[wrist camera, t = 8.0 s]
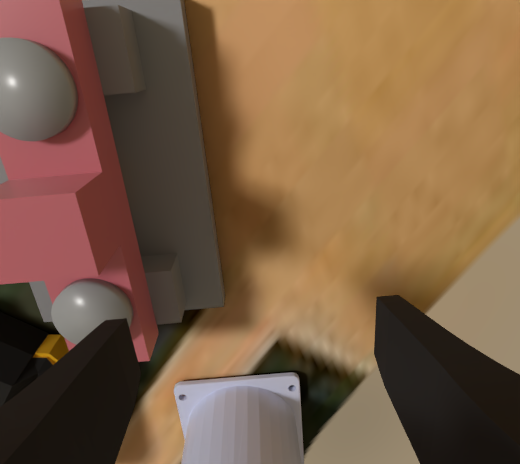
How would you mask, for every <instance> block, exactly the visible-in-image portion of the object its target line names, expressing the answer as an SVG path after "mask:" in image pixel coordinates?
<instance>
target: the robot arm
mask: <svg viewBox="0 0 520 464" xmlns="http://www.w3.org/2000/svg"><path fill="white" fill-rule="evenodd" d="M374 354H375V358H376V361H377V364H378V368H379V371H380V374H381V377H382V379H383V382H384V386H385V388H386V390H387V393H388V395H389V397H390V399H391V401H392V404H393V406H394V408H395V410H396V412H397V414H398V417H399V419H400V421H401V423H402V425H403V427H404V429H405V432H406V434H407V436H408V438H409V440H410V442H411V445H412V447H413V449H414V451H415V453H416V455H417V458H418V460H419V462H420V464H520V375H519V374H517V373H515V372H514V371H512V370H510V369H508V368H506V367H504V366H503V365H501V364H499V363H498V362H496V361H494V360H493V359H491V358H489V357H488V356H486V355H484V354H483V353H481V352H480V351H478V350H476V349H475V348H473V347H471V346H470V345H468V344H467V343H465V342H464V341H462V340H461V339H459V338H458V337H456V336H455V335H453V334H452V333H450V332H449V331H447V330H446V329H445V328H443V327H442V326H440V325H439V324H438V323H436V322H435V321H433V320H432V319H431V318H429V317H428V316H427V315H425V314H424V313H422V312H421V311H420V310H418V309H417V308H416V307H414V306H413V305H412V304H410V303H409V302H407V301H406V300H405V299H403V298H402V297H400V296H399V295H393V296H382V297H377V303H376V325H375V347H374ZM140 377H141V371H140V367H139V363H138V359H137V356H136V352H135V348H134V344H133V341H132V337H131V333H130V329H129V326H128V322H127V318H124V319H112V320H105V321H104V322H102V323H101V324H100V325H99V326H97V327H96V328H95V329H94V330H93V331H92V332H90V333H89V334H88V335H87V336H86V337H85V338H84V339H82V340H81V341H80V342H79V343H78V344H77V345H76V346H75V347H73V348H72V349H71V350H70V351H69V352H68V353H67V354H65V355H64V356H63V357H62V358H61V359H60V360H58V361H57V362H56V363H55V364H54V365H53V366H52V367H50V368H49V369H48V370H47V371H45V372H44V373H43V374H42V375H40V376H39V377H38V378H37V379H36V380H34V381H33V382H32V383H31V384H29V385H28V386H27V387H26V388H24V389H23V390H22V391H21V392H19V393H18V394H17V395H16V396H14V397H13V398H12V399H10V400H9V401H8V402H6V403H5V404H4V405H2V406H1V407H0V464H115V461H116V458H117V456H118V453H119V450H120V447H121V444H122V441H123V439H124V436H125V433H126V430H127V427H128V424H129V421H130V418H131V415H132V412H133V409H134V406H135V401H136V397H137V392H138V387H139V382H140ZM291 385H294V386H293V387H290V386H291ZM174 394H175V399H176V403H177V407H178V412H179V416H180V421H181V425H182V429H183V434H184V438H185V444H184V450H183V457H182V463H181V464H304V452H303V434H302V415H301V397H300V380H299V376H298V375H297V374H296V373H293V372H289V373H277V374H265V375H253V376H241V377H230V378H218V379H206V380H194V381H182V382H178V383H176V385H175V387H174ZM182 394H183V395H185V396H182Z"/></svg>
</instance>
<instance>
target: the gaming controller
mask: <svg viewBox="0 0 520 464" xmlns="http://www.w3.org/2000/svg"><path fill="white" fill-rule="evenodd" d="M68 352H69V350H68V347H67V344H66V341H65V338H64V337H63V336H62V335H49V333H47V332H45V331H42V330H40V329H38V328H36V327H33V326H31V325H29V324H26V323H24V322H22V321H20V320H17V319H15V318H13V317H11V316H8V315H6V314H4V313H1V312H0V407H1V406H2V405H4V404H5V403H6V402H8V401H9V400H10V399H12V398H13V397H14V396H16V395H17V394H18V393H19V392H21V391H22V390H23V389H24V388H26V387H27V386H28V385H29V384H31V383H32V382H33V381H34V380H36V379H37V378H38V377H39V376H40V375H42V374H43V373H44V372H45V371H47V370H48V369H49V368H50V367H52V366H53V365H54V364H55V363H56V362H57V361H58V360H60V359H61V358H62V357H63V356H64V355H65V354H67V353H68Z"/></svg>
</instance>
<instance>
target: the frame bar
mask: <svg viewBox="0 0 520 464" xmlns="http://www.w3.org/2000/svg"><path fill="white" fill-rule="evenodd" d="M0 157H1V160H2V163H3V165H4V168H5V171H6V174H7V177H8V181H6V182H4V183H2V184H0V284H11V283H22V282H34V281H44V282H45V284H46V287H47V290H48V293H49V296H50V299H51V301H52V304H53V305H52V309H51V315H52V320H53V323H54V325H55V327H56V329H57V330H58V332H59V333H60V334H61V335H62V336H63V337H64V338H65V341H66V344H67V347H68V350H69V351H70V350H71V349H72V348H73V347H75V346H76V345H77V344H78V343H79V342H80V341H81V340H82V339H84V338H85V337H86V336H87V335H88V334H89V333H90V332H92V331H93V330H94V329H95V328H96V327H97V326H99V325H100V324H101V323H102V322H104V321H105V320H112V319H124V318H127V322H128V326H129V329H130V333H131V337H132V341H133V344H134V348H135V352H136V356H137V359H138V362H141V361H150V358H151V355H152V352H153V349H154V346H155V343H156V340H157V337H158V329H157V324H156V320H155V316H154V311H153V307H152V303H151V298H150V294H149V290H148V285H147V281H146V277H145V272H144V268H143V264H142V259H141V255H140V251H139V246H138V242H137V237H136V233H135V229H134V224H133V220H132V216H131V211H130V207H129V203H128V198H127V194H126V190H125V185H124V181H123V177H122V172H121V168H120V164H119V159H118V155H117V151H116V146H115V142H114V138H113V133H112V129H111V125H110V120H109V116H108V112H107V107H106V103H105V99H104V94H103V90H102V86H101V81H100V77H99V73H98V68H97V64H96V60H95V55H94V51H93V47H92V42H91V38H90V34H89V29H88V25H87V21H86V16H85V12H84V8H83V3H82V0H0Z"/></svg>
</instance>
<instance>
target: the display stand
mask: <svg viewBox="0 0 520 464" xmlns="http://www.w3.org/2000/svg"><path fill="white" fill-rule="evenodd" d="M82 3H83V8H84V12H85V16H86V21H87V25H88V29H89V34H90V38H91V42H92V47H93V51H94V55H95V60H96V64H97V68H98V73H99V77H100V81H101V86H102V90H103V94H104V99H105V103H106V107H107V112H108V116H109V120H110V125H111V129H112V133H113V138H114V142H115V146H116V151H117V155H118V159H119V164H120V168H121V172H122V177H123V181H124V185H125V190H126V194H127V198H128V203H129V207H130V211H131V216H132V220H133V224H134V229H135V233H136V237H137V242H138V246H139V251H140V255H141V259H142V264H143V268H144V272H145V277H146V281H147V285H148V290H149V294H150V298H151V303H152V307H153V311H154V316H155V320H156V324H169V323H181V322H182V318H183V314H184V310H192V309H204V308H215V307H224V301H225V291H224V284H223V276H222V269H221V262H220V255H219V248H218V240H217V233H216V226H215V219H214V212H213V205H212V197H211V190H210V183H209V176H208V169H207V161H206V154H205V147H204V140H203V133H202V126H201V118H200V111H199V104H198V97H197V90H196V82H195V75H194V68H193V61H192V54H191V47H190V39H189V32H188V25H187V18H186V11H185V3H184V0H82ZM6 181H8V177H7V174H6V171H5V168H4V165H3V163H2V160H1V157H0V184H2V183H4V182H6ZM29 283H30V286H31V289H32V291H33V294H34V297H35V299H36V302H37V305H38V307H39V310H40V313H41V315H42V318H43V321H44V322H52V321H53V320H52V315H51V309H52V305H53V304H52V301H51V299H50V296H49V293H48V290H47V287H46V284H45V282H44V281H34V282H29Z"/></svg>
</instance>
